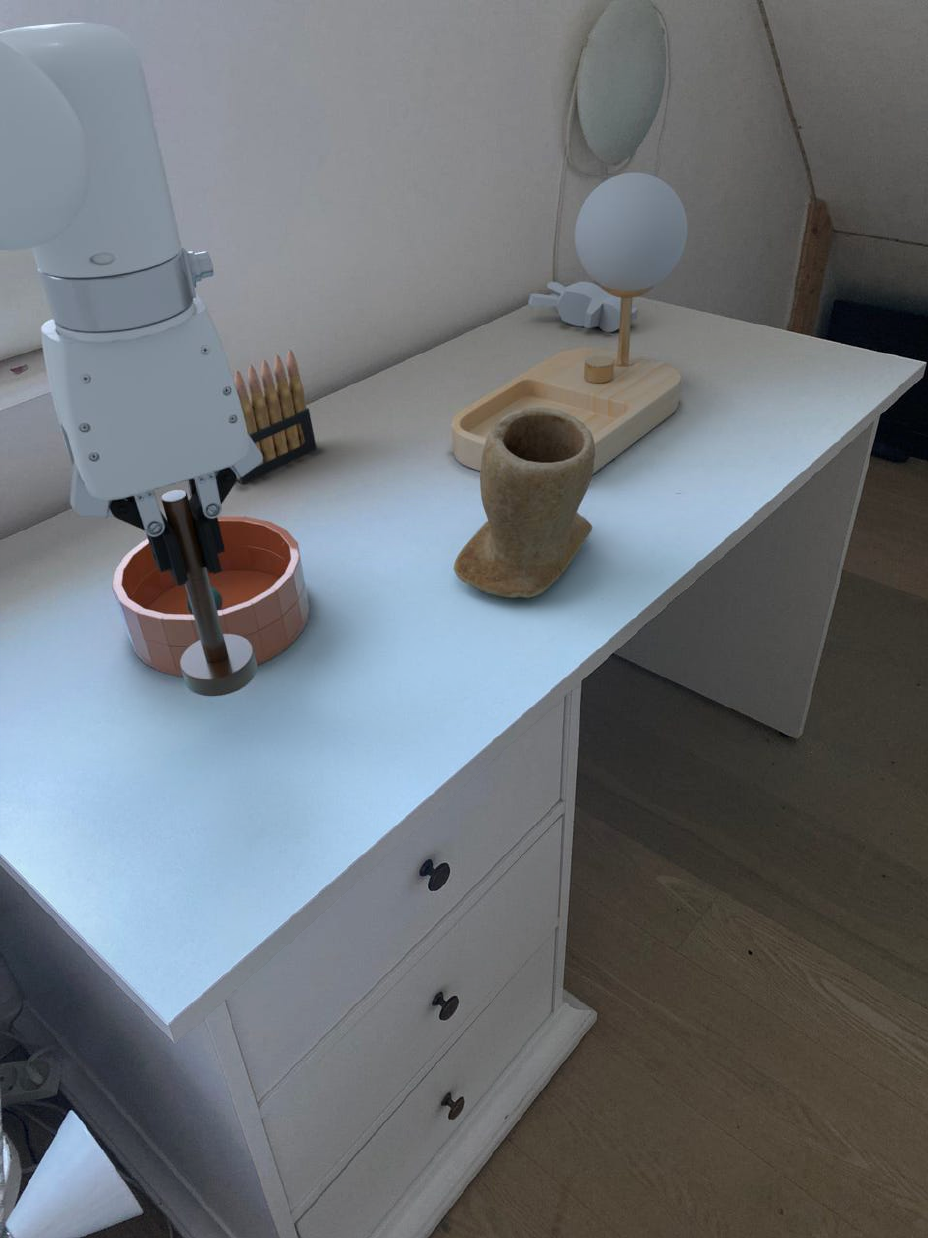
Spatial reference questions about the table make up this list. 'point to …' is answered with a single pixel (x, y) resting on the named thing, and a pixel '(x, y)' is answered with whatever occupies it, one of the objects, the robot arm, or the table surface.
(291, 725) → the table surface
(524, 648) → the table surface
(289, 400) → the ammunition clip
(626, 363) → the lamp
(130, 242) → the robot arm
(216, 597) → the bead
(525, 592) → the stone cup
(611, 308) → the bunny figurine
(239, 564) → the bowl
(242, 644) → the brown disc-based tamper
